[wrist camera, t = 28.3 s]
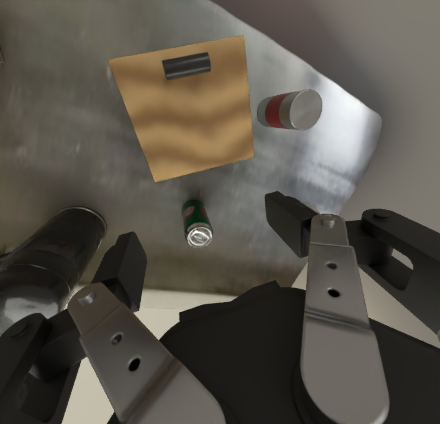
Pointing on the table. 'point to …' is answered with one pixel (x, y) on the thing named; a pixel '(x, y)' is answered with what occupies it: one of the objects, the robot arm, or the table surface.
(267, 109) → the can
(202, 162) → the lid
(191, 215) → the soda can
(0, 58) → the block tower
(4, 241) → the table surface
